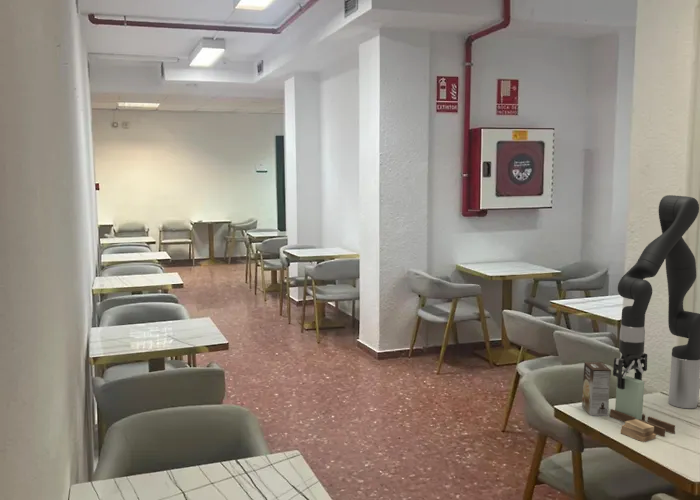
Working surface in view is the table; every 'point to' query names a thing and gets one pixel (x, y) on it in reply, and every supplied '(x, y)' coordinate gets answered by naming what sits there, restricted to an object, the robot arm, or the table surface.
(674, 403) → the robot arm
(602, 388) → the coffee box
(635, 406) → the pale green block
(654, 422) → the rack
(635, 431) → the offcut stack
